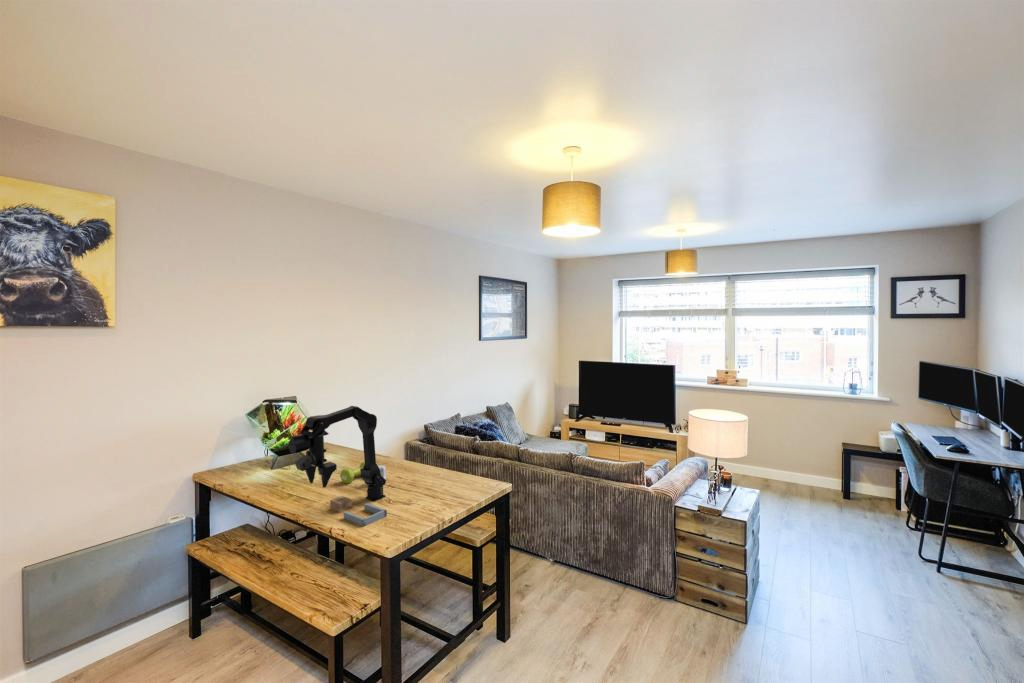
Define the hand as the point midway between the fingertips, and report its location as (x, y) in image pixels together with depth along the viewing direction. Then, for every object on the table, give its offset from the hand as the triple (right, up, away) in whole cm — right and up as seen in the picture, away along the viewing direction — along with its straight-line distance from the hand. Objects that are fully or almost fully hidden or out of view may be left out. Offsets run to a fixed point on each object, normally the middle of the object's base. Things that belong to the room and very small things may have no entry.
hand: (317, 485), depth 189 cm
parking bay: (+18, -14, +3) cm, 23 cm away
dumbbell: (-1, -13, +50) cm, 51 cm away
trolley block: (+5, -14, +13) cm, 20 cm away
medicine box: (+12, -13, +42) cm, 45 cm away
